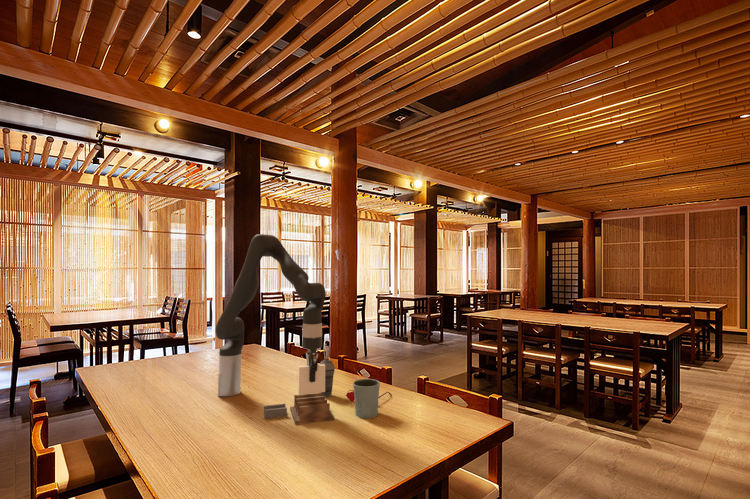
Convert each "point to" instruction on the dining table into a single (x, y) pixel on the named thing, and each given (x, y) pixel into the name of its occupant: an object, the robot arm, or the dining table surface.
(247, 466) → the dining table surface
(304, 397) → the dish rack
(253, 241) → the robot arm
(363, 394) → the grey green cup
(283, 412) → the plate stand
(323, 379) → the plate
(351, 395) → the glasses
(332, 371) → the beverage cup
